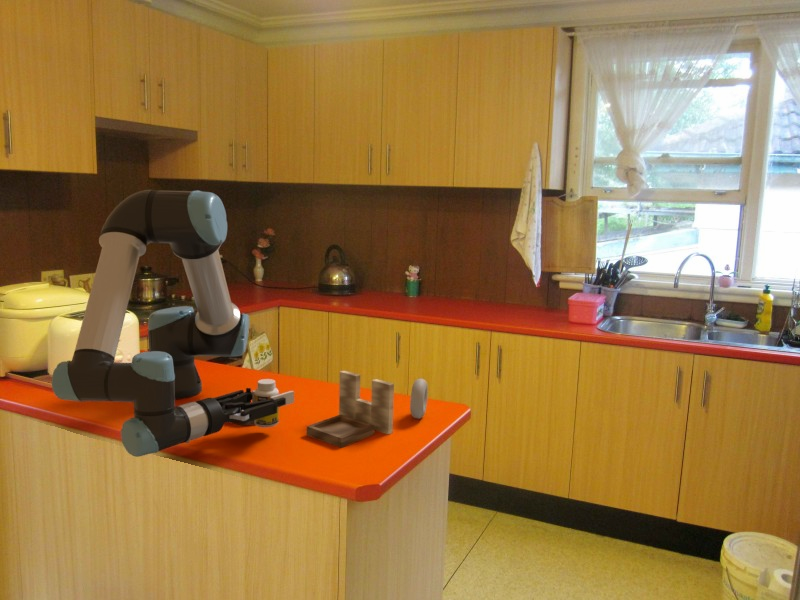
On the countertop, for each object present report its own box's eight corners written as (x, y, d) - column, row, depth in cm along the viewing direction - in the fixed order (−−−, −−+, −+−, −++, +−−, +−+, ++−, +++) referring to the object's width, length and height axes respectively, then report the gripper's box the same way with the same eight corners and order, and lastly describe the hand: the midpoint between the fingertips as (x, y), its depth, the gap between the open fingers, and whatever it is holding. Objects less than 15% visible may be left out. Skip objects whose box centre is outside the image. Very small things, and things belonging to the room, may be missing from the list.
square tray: (306, 435, 151) (306, 426, 151) (339, 423, 159) (340, 414, 159) (341, 447, 144) (341, 438, 144) (374, 434, 153) (374, 425, 152)
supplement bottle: (253, 428, 148) (253, 385, 146) (254, 420, 153) (254, 378, 151) (278, 427, 149) (278, 384, 147) (278, 419, 154) (278, 377, 152)
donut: (422, 424, 160) (423, 385, 158) (408, 423, 160) (409, 384, 159) (428, 411, 170) (429, 374, 168) (414, 410, 170) (416, 373, 169)
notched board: (339, 418, 163) (339, 371, 161) (343, 417, 164) (343, 370, 162) (388, 434, 153) (389, 384, 151) (392, 432, 154) (393, 383, 152)
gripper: (173, 425, 142) (258, 400, 160) (226, 448, 131) (311, 418, 149) (172, 392, 141) (258, 370, 159) (225, 412, 130) (311, 386, 147)
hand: (283, 393), depth 154 cm, fingers closed on supplement bottle, 6 cm apart
